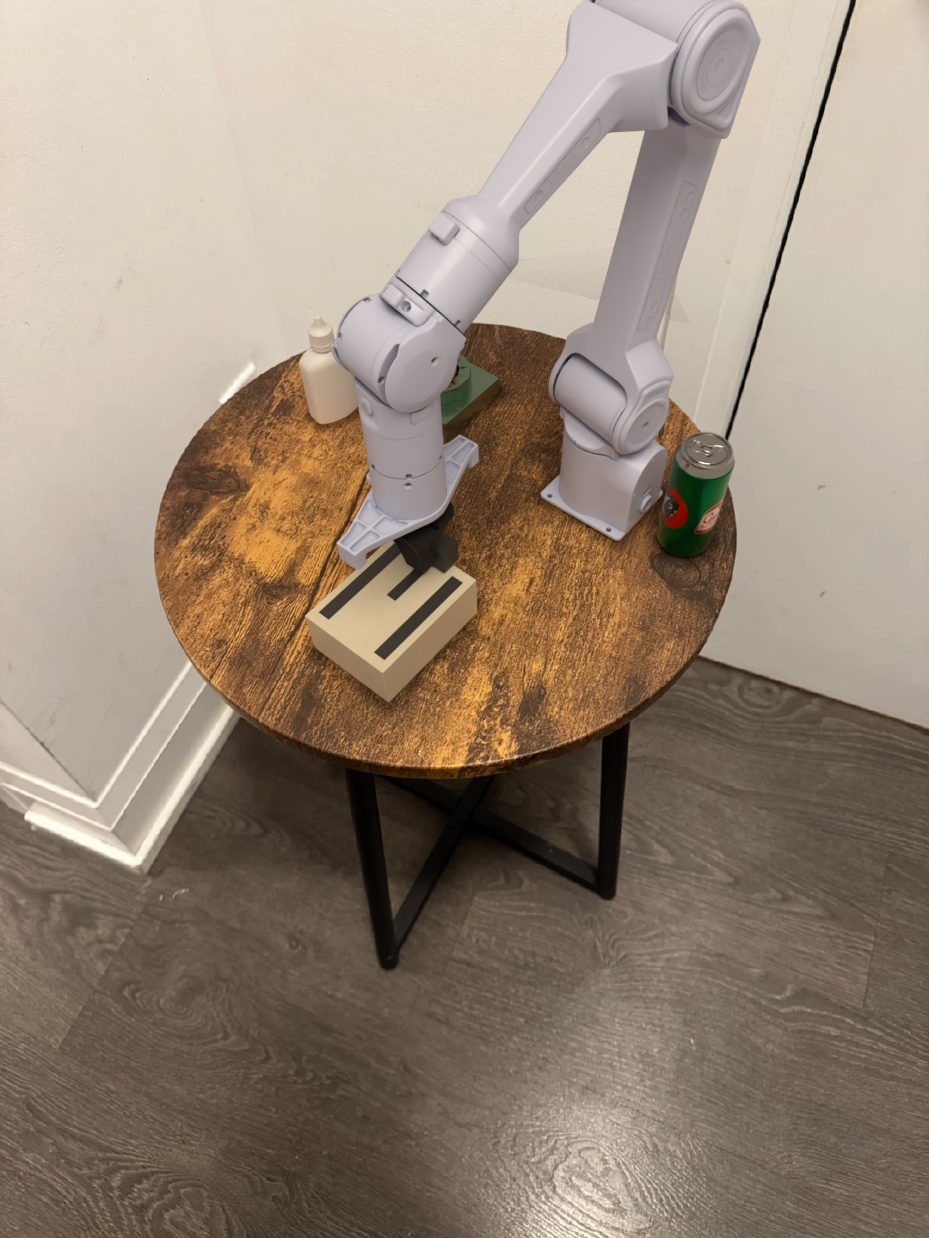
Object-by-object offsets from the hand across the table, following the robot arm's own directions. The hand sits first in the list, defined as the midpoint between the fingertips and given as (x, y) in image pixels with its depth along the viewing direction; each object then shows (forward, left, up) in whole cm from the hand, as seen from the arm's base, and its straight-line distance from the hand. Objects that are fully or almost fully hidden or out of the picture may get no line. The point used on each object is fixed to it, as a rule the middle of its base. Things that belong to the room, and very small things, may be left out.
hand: (418, 564), depth 77 cm
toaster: (0, +4, -6) cm, 7 cm away
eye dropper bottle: (+24, -14, -6) cm, 28 cm away
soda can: (-14, -21, -6) cm, 26 cm away
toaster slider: (0, -2, -1) cm, 2 cm away
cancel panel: (+17, -22, -6) cm, 28 cm away
